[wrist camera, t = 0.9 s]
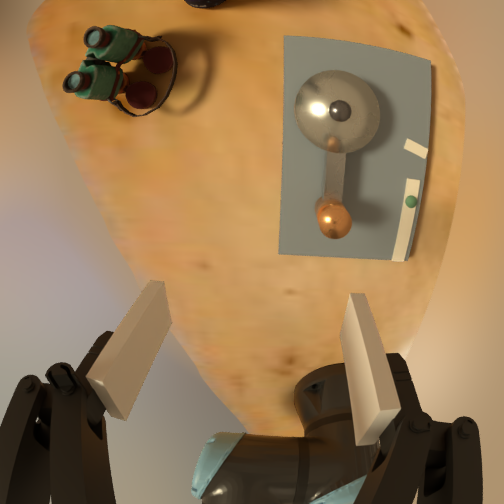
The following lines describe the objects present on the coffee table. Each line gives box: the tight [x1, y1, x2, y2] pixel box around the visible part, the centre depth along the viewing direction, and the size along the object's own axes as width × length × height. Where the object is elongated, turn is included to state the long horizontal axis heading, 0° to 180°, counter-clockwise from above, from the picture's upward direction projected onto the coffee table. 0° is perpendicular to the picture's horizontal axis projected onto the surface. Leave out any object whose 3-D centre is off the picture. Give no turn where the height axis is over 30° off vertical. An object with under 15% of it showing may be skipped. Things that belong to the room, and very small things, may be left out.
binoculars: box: [63, 25, 178, 117], centre depth 21 cm, size 9×11×10 cm
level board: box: [278, 36, 431, 262], centre depth 27 cm, size 24×16×2 cm, turn 0°
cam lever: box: [294, 70, 380, 239], centre depth 24 cm, size 16×8×5 cm, turn 0°
